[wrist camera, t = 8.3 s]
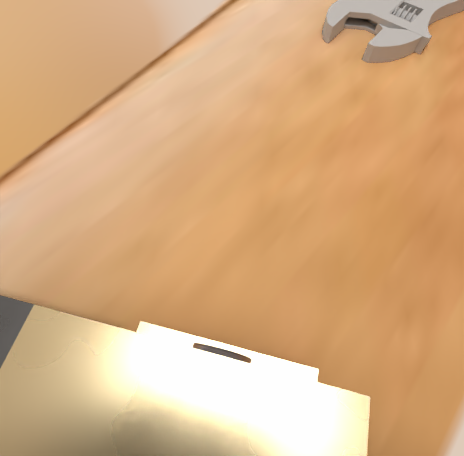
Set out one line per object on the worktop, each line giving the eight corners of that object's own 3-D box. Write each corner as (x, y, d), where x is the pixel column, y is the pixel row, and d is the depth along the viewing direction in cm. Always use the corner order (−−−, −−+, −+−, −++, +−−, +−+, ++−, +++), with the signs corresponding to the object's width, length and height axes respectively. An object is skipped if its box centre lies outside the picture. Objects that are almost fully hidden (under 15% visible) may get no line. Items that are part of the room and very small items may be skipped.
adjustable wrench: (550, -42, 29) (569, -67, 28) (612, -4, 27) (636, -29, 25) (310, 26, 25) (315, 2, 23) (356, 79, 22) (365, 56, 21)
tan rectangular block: (289, 525, 11) (534, 1156, 2) (100, 463, 12) (-328, 713, 3) (309, 370, 13) (474, 338, 4) (149, 327, 14) (-5, 221, 5)
